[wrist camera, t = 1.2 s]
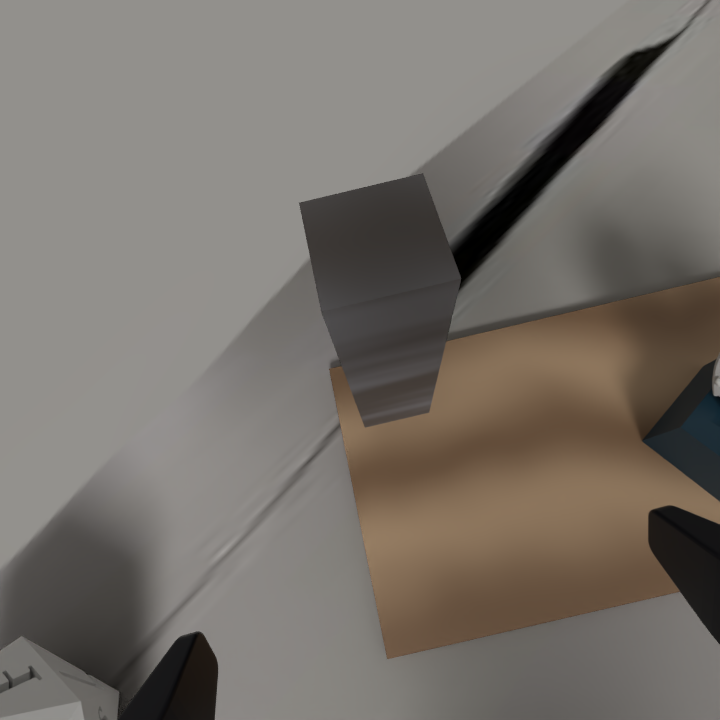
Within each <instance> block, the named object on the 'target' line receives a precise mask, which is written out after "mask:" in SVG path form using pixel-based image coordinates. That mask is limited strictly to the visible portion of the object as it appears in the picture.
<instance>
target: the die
mask: <svg viewBox="0 0 720 720" xmlns="http://www.w3.org/2000/svg"><path fill="white" fill-rule="evenodd" d="M118 702H119V691H117V690H116V689H114V688H112V687H110V686H109V685H107V684H105V683H103V682H102V681H100V680H98V679H96V678H95V677H93V676H91V675H87V674H86V673H85V672H84V671H82V670H81V669H79V668H77V667H75V666H74V665H72V664H70V663H68V662H67V661H65V660H63V659H61V658H60V657H58V656H56V655H54V654H53V653H51V652H49V651H47V650H46V649H44V648H42V647H40V646H39V645H37V644H35V643H33V642H32V641H30V640H28V639H26V638H25V637H23V636H21V637H19V638H18V639H16V640H15V641H13V642H12V643H11V644H9V645H8V646H6V647H5V648H3V649H2V650H0V720H117V714H118Z"/></svg>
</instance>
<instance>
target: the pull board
mask: <svg viewBox="0 0 720 720" xmlns="http://www.w3.org/2000/svg"><path fill="white" fill-rule="evenodd" d="M299 204H300V209H301V214H302V219H303V224H304V229H305V233H306V239H307V243H308V248H309V253H310V258H311V263H312V268H313V273H314V278H315V283H316V288H317V293H318V297H319V302H320V307H321V312H322V315H323V317H324V320H325V323H326V325H327V328H328V331H329V333H330V336H331V339H332V341H333V344H334V347H335V349H336V352H337V355H338V357H339V360H340V363H341V365H342V366H339V367H335V368H331V369H329V370H330V375H331V380H332V385H333V390H334V395H335V400H336V405H337V410H338V415H339V420H340V425H341V430H342V435H343V440H344V445H345V450H346V455H347V460H348V465H349V470H350V475H351V480H352V485H353V490H354V495H355V500H356V505H357V510H358V515H359V520H360V525H361V530H362V535H363V540H364V545H365V550H366V555H367V560H368V565H369V570H370V575H371V580H372V585H373V590H374V595H375V600H376V605H377V610H378V615H379V620H380V625H381V630H382V635H383V640H384V645H385V650H386V655H387V659H390V658H394V657H399V656H403V655H407V654H412V653H416V652H420V651H425V650H429V649H433V648H438V647H442V646H446V645H451V644H455V643H459V642H464V641H468V640H472V639H477V638H481V637H485V636H490V635H494V634H498V633H502V632H507V631H511V630H515V629H520V628H524V627H528V626H533V625H537V624H541V623H546V622H550V621H554V620H559V619H563V618H567V617H572V616H576V615H580V614H585V613H589V612H593V611H598V610H602V609H606V608H611V607H615V606H619V605H624V604H628V603H632V602H637V601H641V600H645V599H650V598H654V597H658V596H663V595H667V594H671V593H676V592H680V591H679V589H678V588H677V587H676V585H675V584H674V582H673V581H672V580H671V578H670V577H669V575H668V574H667V573H666V571H665V570H664V568H663V567H662V566H661V564H660V563H659V561H658V560H657V559H656V557H655V556H654V554H653V553H652V551H651V549H650V546H649V543H648V514H649V512H650V510H652V509H655V508H659V507H663V506H667V505H672V506H676V507H679V508H681V509H684V510H686V511H688V512H691V513H693V514H696V515H698V516H701V517H703V518H706V519H708V520H711V521H713V522H716V523H718V524H720V501H718V500H717V499H716V498H714V497H713V496H712V495H711V494H709V493H708V492H707V491H705V490H704V489H703V488H702V487H700V486H699V485H698V484H696V483H695V482H694V481H693V480H691V479H690V478H689V477H687V476H686V475H685V474H683V473H682V472H681V471H680V470H678V469H677V468H676V467H674V466H673V465H672V464H671V463H669V462H668V461H667V460H665V459H664V458H663V457H662V456H660V455H659V454H658V453H656V452H655V451H654V450H653V449H651V448H650V447H649V446H647V445H646V444H645V443H643V442H642V440H643V439H644V438H645V436H646V435H647V434H648V433H649V432H650V430H651V429H652V428H653V427H654V425H655V424H656V423H657V422H658V421H659V419H660V418H661V417H662V416H663V414H664V413H665V412H666V411H667V410H668V408H669V407H670V406H671V405H672V404H673V402H674V401H675V400H676V399H677V397H678V396H679V395H680V394H681V393H682V391H683V390H684V389H685V388H686V387H687V385H688V384H689V383H690V382H691V380H692V379H693V378H694V377H695V376H696V374H697V373H698V372H699V371H700V369H701V368H702V367H703V366H704V365H706V364H708V363H710V362H712V361H714V360H715V359H717V357H718V355H719V353H720V277H717V278H713V279H709V280H704V281H700V282H696V283H692V284H688V285H683V286H679V287H675V288H671V289H666V290H662V291H658V292H654V293H649V294H645V295H641V296H637V297H632V298H628V299H624V300H620V301H615V302H611V303H607V304H603V305H598V306H594V307H590V308H586V309H581V310H577V311H573V312H569V313H564V314H560V315H556V316H552V317H547V318H543V319H539V320H535V321H530V322H526V323H522V324H518V325H514V326H509V327H505V328H501V329H497V330H492V331H488V332H484V333H480V334H475V335H471V336H467V337H463V338H458V339H454V340H450V341H446V340H447V336H448V332H449V328H450V323H451V319H452V315H453V311H454V307H455V303H456V298H457V294H458V290H459V286H460V282H461V277H460V274H459V271H458V268H457V266H456V263H455V260H454V257H453V255H452V252H451V249H450V247H449V244H448V241H447V238H446V236H445V233H444V230H443V227H442V225H441V222H440V219H439V216H438V214H437V211H436V208H435V205H434V203H433V200H432V197H431V194H430V192H429V189H428V186H427V183H426V181H425V178H424V175H423V174H418V175H414V176H410V177H406V178H402V179H397V180H393V181H389V182H385V183H381V184H376V185H372V186H368V187H364V188H360V189H355V190H351V191H347V192H343V193H339V194H335V195H330V196H326V197H322V198H318V199H313V200H310V201H305V202H301V203H299Z"/></svg>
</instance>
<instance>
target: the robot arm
mask: <svg viewBox="0 0 720 720" xmlns="http://www.w3.org/2000/svg"><path fill="white" fill-rule="evenodd" d="M648 543H649V546H650V549H651V551H652V553H653V554H654V556H655V557H656V559H657V560H658V561H659V563H660V564H661V566H662V567H663V568H664V570H665V571H666V573H667V574H668V575H669V577H670V578H671V580H672V581H673V582H674V584H675V585H676V587H677V588H678V589H679V591H680V592H681V593H682V595H683V596H684V598H685V599H686V600H687V602H688V603H689V605H690V606H691V607H692V609H693V610H694V612H695V613H696V614H697V616H698V617H699V618H700V620H701V621H702V623H703V624H704V625H705V627H706V628H707V629H708V630H709V632H710V633H711V634H712V636H713V637H714V638H715V639H716V640H717V642H718V643H719V644H720V524H718V523H716V522H713V521H711V520H708V519H706V518H703V517H701V516H698V515H696V514H693V513H691V512H688V511H686V510H684V509H681V508H679V507H676V506H672V505H667V506H663V507H659V508H655V509H652V510H650V512H649V514H648ZM217 680H218V663H217V659H216V656H215V654H214V653H213V651H212V649H211V647H210V645H209V643H208V642H207V640H206V638H205V636H204V635H203V633H201V632H194V633H190V634H186V635H183V636H180V637H179V638H178V639H177V640H176V641H175V642H174V643H173V645H172V646H171V648H170V649H169V650H168V652H167V653H166V654H165V656H164V657H163V658H162V660H161V661H160V662H159V664H158V665H157V667H156V668H155V669H154V671H153V672H152V673H151V675H150V676H149V677H148V679H147V680H146V681H145V683H144V684H143V685H142V687H141V688H140V690H139V691H138V692H137V694H136V695H135V696H134V698H133V699H132V700H131V702H130V703H129V704H128V706H127V707H126V708H125V710H124V711H123V713H122V714H121V715H120V717H119V718H118V719H117V720H215V707H216V694H217Z"/></svg>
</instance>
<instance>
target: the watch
mask: <svg viewBox="0 0 720 720" xmlns="http://www.w3.org/2000/svg"><path fill="white" fill-rule="evenodd" d="M642 442H643V443H645V444H646V445H647V446H649V447H650V448H651V449H653V450H654V451H655V452H656V453H658V454H659V455H660V456H662V457H663V458H664V459H665V460H667V461H668V462H669V463H671V464H672V465H673V466H674V467H676V468H677V469H678V470H680V471H681V472H682V473H683V474H685V475H686V476H687V477H689V478H690V479H691V480H693V481H694V482H695V483H696V484H698V485H699V486H700V487H702V488H703V489H704V490H705V491H707V492H708V493H709V494H711V495H712V496H713V497H714V498H716V499H717V500H718V501H720V353H719V355H718V357H717V359H715V360H714V361H712V362H710V363H708V364H706V365H704V366H703V367H702V368H701V369H700V371H699V372H698V373H697V374H696V376H695V377H694V378H693V379H692V380H691V382H690V383H689V384H688V385H687V387H686V388H685V389H684V390H683V391H682V393H681V394H680V395H679V396H678V397H677V399H676V400H675V401H674V402H673V404H672V405H671V406H670V407H669V408H668V410H667V411H666V412H665V413H664V414H663V416H662V417H661V418H660V419H659V421H658V422H657V423H656V424H655V425H654V427H653V428H652V429H651V430H650V432H649V433H648V434H647V435H646V436H645V438H644V439H643V440H642Z"/></svg>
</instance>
